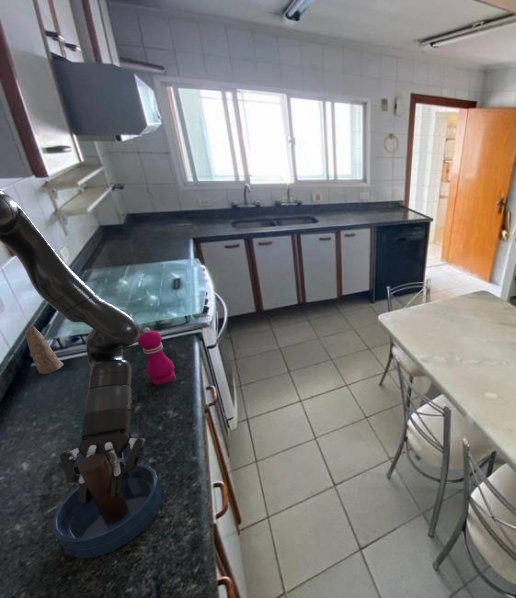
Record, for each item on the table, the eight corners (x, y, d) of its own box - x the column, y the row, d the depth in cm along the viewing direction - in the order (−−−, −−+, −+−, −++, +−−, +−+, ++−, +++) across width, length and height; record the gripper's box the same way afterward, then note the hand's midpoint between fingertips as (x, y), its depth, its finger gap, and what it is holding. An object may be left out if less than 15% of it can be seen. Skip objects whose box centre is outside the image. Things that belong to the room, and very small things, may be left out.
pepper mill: (146, 383, 107) (125, 331, 98) (167, 370, 113) (149, 320, 104) (161, 389, 104) (141, 336, 96) (182, 376, 110) (165, 324, 102)
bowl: (48, 575, 60) (35, 556, 57) (81, 496, 73) (72, 477, 70) (155, 538, 66) (148, 520, 64) (168, 472, 79) (162, 454, 77)
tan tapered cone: (72, 369, 111) (49, 373, 109) (51, 320, 105) (27, 323, 103) (60, 379, 105) (36, 383, 103) (37, 327, 99) (12, 331, 98)
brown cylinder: (101, 527, 67) (74, 474, 60) (107, 509, 70) (82, 456, 63) (125, 519, 68) (101, 466, 62) (130, 502, 72) (108, 450, 65)
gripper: (53, 416, 64) (40, 515, 59) (141, 402, 69) (136, 493, 63) (76, 417, 71) (66, 506, 65) (154, 404, 75) (151, 487, 70)
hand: (101, 499), depth 64 cm, fingers closed on brown cylinder, 4 cm apart
